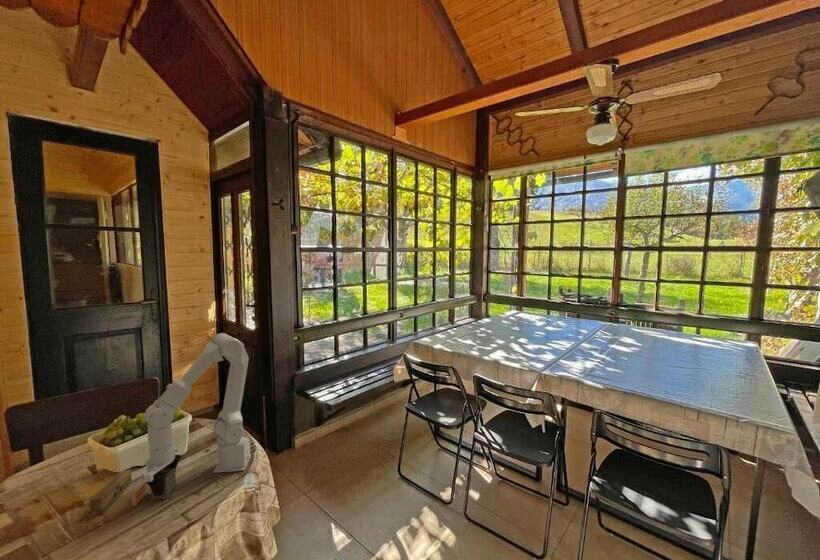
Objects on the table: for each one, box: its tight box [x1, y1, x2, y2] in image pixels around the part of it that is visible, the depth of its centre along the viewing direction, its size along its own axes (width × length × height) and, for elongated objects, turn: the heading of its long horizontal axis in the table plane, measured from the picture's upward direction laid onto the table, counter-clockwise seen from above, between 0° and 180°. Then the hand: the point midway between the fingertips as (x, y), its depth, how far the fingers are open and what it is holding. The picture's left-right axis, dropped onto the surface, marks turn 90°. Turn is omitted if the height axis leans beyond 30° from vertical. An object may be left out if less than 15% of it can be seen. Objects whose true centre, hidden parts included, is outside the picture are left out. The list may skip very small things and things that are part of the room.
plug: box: [147, 468, 177, 500], centre depth 103 cm, size 6×5×6 cm
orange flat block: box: [130, 480, 151, 506], centre depth 102 cm, size 1×8×4 cm, turn 8°
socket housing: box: [89, 469, 133, 516], centre depth 101 cm, size 3×12×4 cm, turn 8°
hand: (164, 488), depth 103 cm, fingers closed on plug, 5 cm apart
